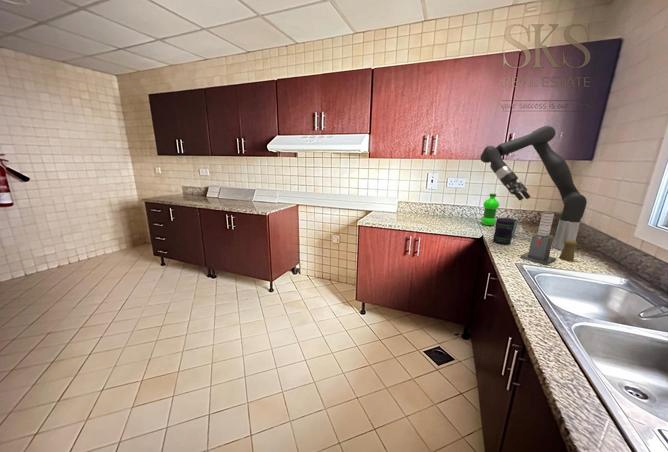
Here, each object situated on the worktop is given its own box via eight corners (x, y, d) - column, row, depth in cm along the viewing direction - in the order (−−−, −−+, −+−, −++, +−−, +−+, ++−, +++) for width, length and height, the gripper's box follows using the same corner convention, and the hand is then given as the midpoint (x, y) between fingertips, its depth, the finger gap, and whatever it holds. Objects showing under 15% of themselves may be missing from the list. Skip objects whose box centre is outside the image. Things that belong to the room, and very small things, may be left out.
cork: (558, 256, 145) (563, 237, 142) (573, 259, 141) (578, 239, 138) (559, 259, 140) (563, 240, 137) (573, 262, 137) (579, 242, 134)
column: (537, 246, 141) (545, 211, 136) (546, 248, 138) (554, 212, 133) (534, 247, 139) (542, 212, 134) (543, 249, 136) (551, 213, 131)
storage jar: (489, 241, 170) (492, 218, 166) (499, 239, 173) (503, 217, 169) (503, 246, 161) (508, 222, 157) (514, 244, 165) (518, 221, 161)
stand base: (529, 253, 148) (534, 231, 145) (555, 260, 139) (561, 236, 135) (520, 258, 142) (524, 234, 138) (546, 265, 132) (552, 240, 129)
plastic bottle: (495, 227, 202) (501, 195, 195) (480, 225, 207) (485, 194, 200) (495, 224, 210) (500, 193, 204) (480, 222, 215) (485, 192, 209)
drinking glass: (497, 233, 187) (500, 216, 184) (514, 235, 183) (517, 218, 180) (498, 236, 179) (502, 220, 175) (516, 239, 174) (520, 221, 171)
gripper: (506, 179, 154) (524, 201, 148) (494, 180, 146) (512, 204, 140) (518, 171, 148) (537, 193, 142) (506, 171, 141) (525, 195, 134)
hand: (525, 198), depth 141 cm, fingers open, 8 cm apart
